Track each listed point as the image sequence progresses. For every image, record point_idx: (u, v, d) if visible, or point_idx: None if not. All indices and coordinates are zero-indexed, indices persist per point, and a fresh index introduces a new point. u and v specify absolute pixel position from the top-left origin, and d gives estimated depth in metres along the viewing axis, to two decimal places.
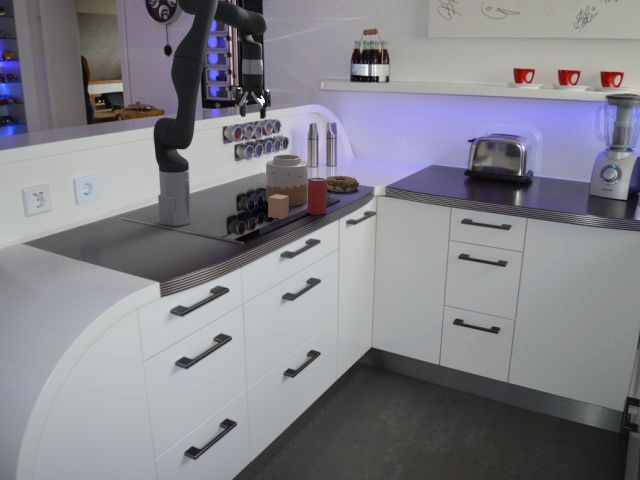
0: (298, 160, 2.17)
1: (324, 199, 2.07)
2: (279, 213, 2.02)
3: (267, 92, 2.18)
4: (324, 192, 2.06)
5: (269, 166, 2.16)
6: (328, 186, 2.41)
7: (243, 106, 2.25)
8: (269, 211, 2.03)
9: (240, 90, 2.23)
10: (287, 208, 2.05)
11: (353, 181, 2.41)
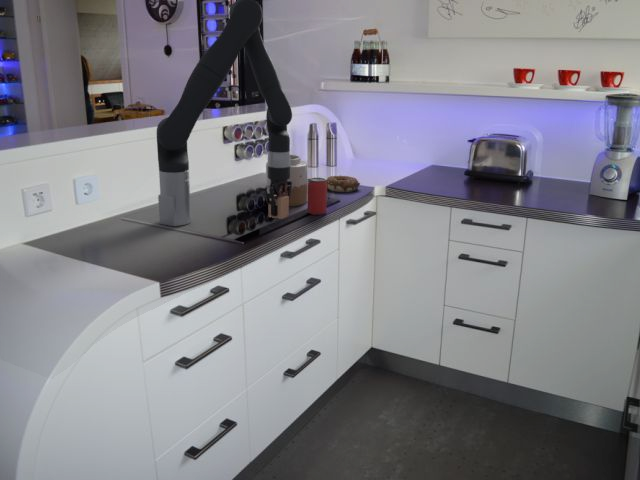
0: (298, 160, 2.17)
1: (324, 199, 2.07)
2: (279, 213, 2.02)
3: None
4: (324, 192, 2.06)
5: None
6: (329, 186, 2.41)
7: None
8: (269, 211, 2.03)
9: None
10: (287, 208, 2.05)
11: (354, 181, 2.41)
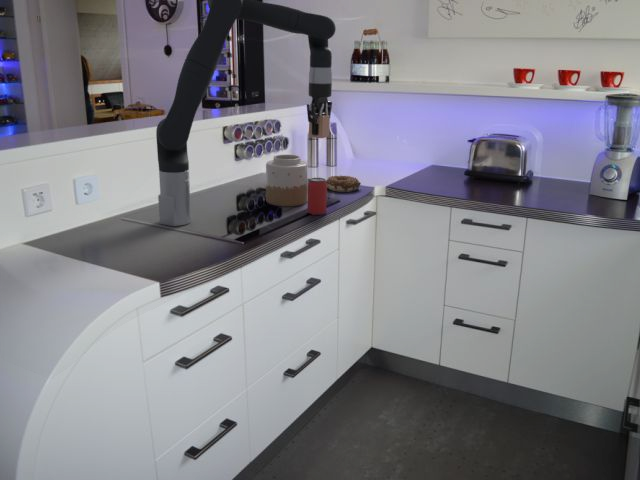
0: (298, 160, 2.17)
1: (324, 199, 2.07)
2: (320, 132, 1.99)
3: None
4: (324, 192, 2.06)
5: (269, 166, 2.16)
6: (329, 186, 2.41)
7: None
8: (310, 130, 2.00)
9: None
10: (328, 128, 2.02)
11: (354, 181, 2.42)
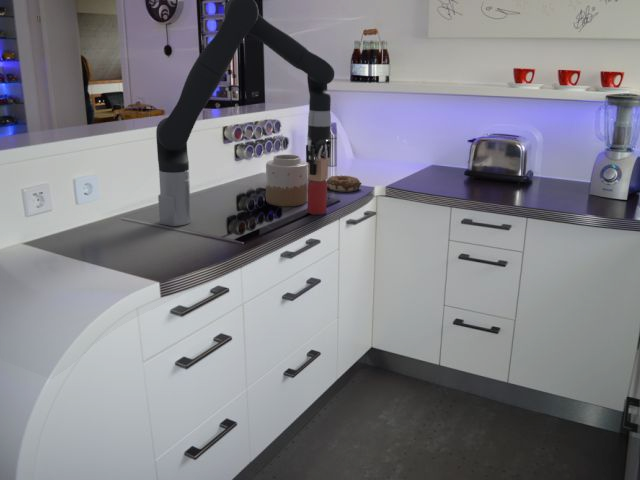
0: (298, 160, 2.17)
1: (324, 199, 2.07)
2: (319, 175, 2.03)
3: None
4: (324, 192, 2.06)
5: (269, 166, 2.16)
6: (330, 186, 2.42)
7: None
8: (309, 174, 2.05)
9: None
10: (326, 171, 2.06)
11: (355, 181, 2.42)
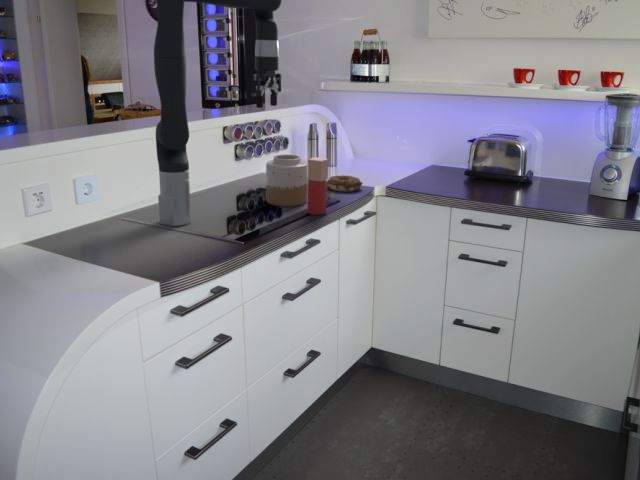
0: (298, 160, 2.17)
1: (324, 199, 2.07)
2: (319, 175, 2.03)
3: None
4: (324, 192, 2.06)
5: (269, 166, 2.16)
6: (331, 186, 2.42)
7: None
8: (309, 174, 2.05)
9: None
10: (326, 171, 2.06)
11: (356, 180, 2.42)
